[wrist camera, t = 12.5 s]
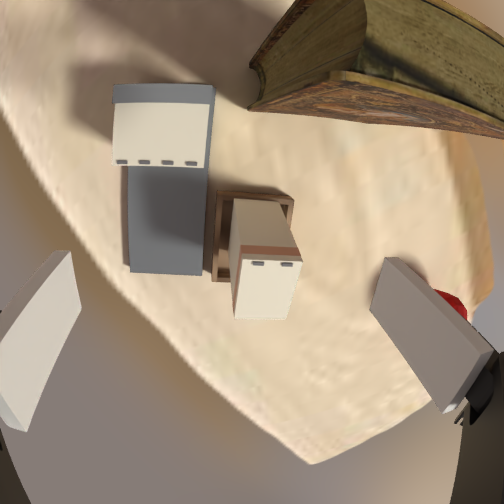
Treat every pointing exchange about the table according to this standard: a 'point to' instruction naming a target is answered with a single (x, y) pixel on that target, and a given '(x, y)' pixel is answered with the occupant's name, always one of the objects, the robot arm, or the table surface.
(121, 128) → the pad
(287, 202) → the tray
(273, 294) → the stub
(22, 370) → the robot arm
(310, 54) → the book
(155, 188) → the board
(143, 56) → the table surface
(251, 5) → the table surface
